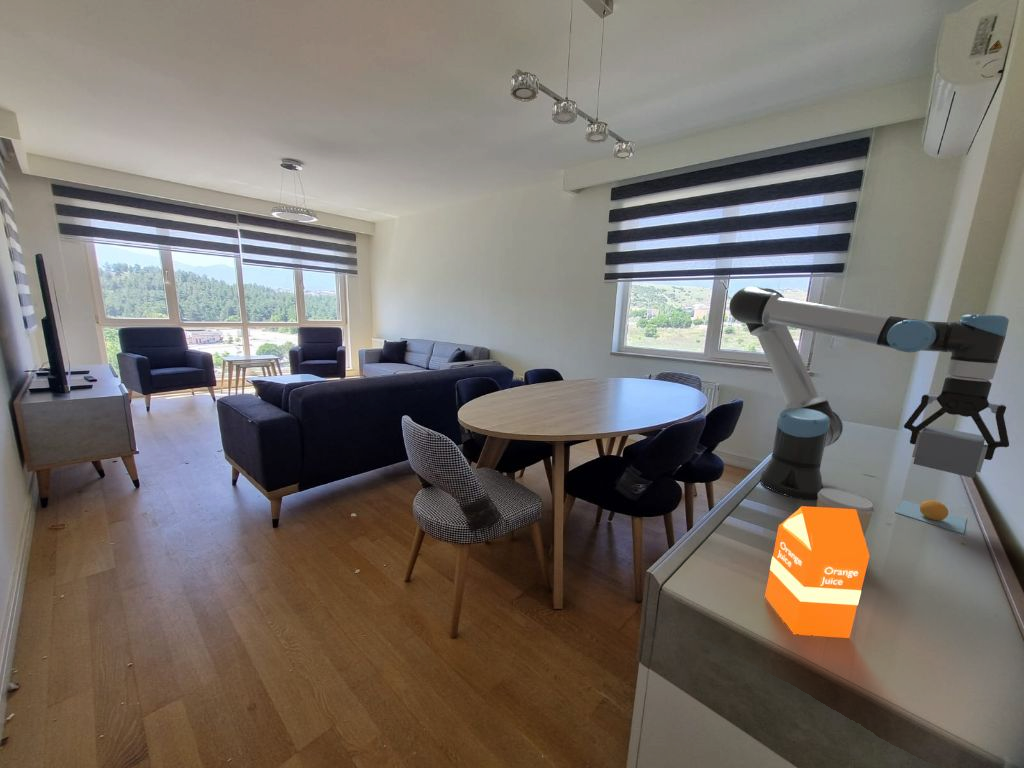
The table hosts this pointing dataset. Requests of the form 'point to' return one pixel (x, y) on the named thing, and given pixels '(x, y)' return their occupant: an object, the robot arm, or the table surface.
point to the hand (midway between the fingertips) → (945, 463)
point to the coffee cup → (847, 504)
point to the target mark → (914, 512)
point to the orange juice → (818, 571)
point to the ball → (934, 510)
